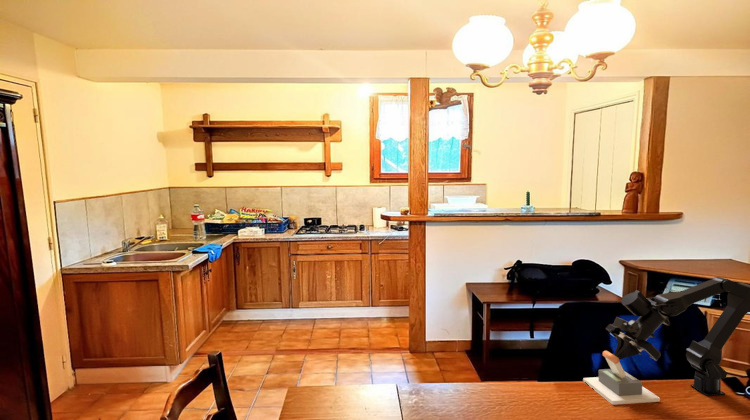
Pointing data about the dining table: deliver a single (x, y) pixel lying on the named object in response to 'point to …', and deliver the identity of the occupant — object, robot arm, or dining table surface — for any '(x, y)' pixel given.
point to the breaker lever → (614, 364)
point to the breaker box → (620, 388)
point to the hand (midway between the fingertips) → (614, 359)
